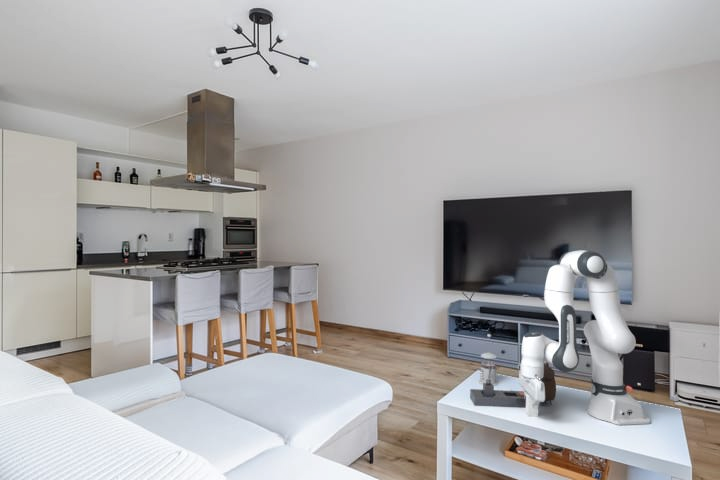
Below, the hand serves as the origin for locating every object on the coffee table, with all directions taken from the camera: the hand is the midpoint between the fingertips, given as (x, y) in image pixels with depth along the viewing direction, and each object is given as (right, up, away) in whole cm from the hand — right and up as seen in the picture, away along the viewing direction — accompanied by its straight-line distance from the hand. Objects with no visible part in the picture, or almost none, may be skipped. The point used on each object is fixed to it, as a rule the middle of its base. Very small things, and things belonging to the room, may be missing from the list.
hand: (531, 404), depth 171 cm
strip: (-9, -4, +12) cm, 16 cm away
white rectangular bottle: (0, -5, 0) cm, 5 cm away
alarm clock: (+11, -5, +14) cm, 19 cm away
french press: (-6, -5, +38) cm, 38 cm away
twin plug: (-14, -4, +13) cm, 19 cm away
